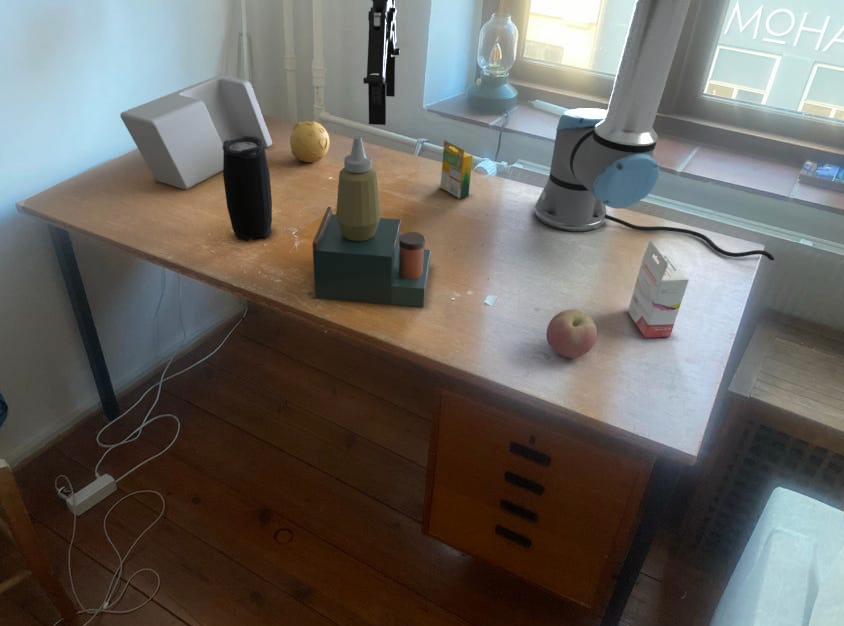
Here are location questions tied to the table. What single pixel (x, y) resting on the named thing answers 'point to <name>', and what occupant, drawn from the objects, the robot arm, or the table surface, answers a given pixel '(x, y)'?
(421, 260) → the spice jar
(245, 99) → the bracket
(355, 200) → the squeeze bottle
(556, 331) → the apple
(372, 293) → the dark green stepped block
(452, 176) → the crayon box
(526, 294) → the table surface
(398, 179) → the table surface
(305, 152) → the stress ball
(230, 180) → the portable speaker
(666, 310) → the ink cartridge box
